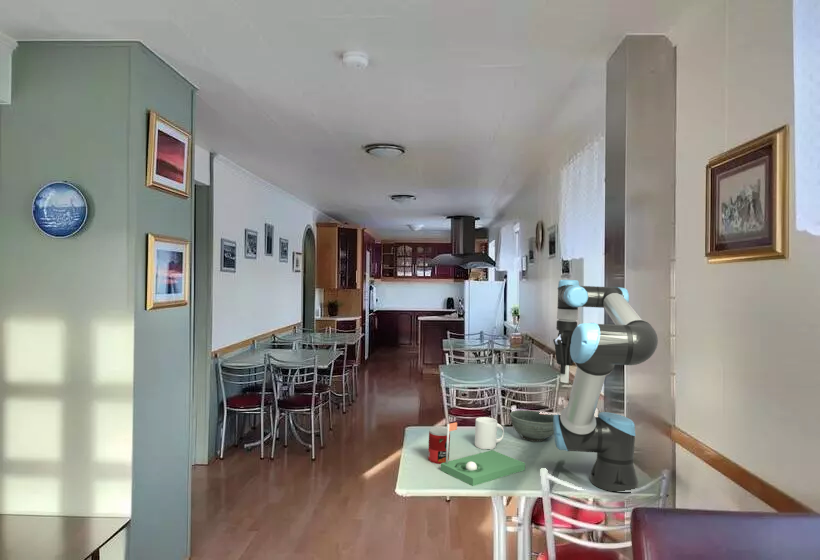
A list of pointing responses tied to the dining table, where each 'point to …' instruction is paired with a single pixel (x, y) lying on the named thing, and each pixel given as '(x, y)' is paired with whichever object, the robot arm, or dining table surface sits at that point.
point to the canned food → (438, 445)
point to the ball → (471, 466)
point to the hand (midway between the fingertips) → (564, 382)
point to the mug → (487, 433)
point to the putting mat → (480, 465)
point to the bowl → (532, 424)
